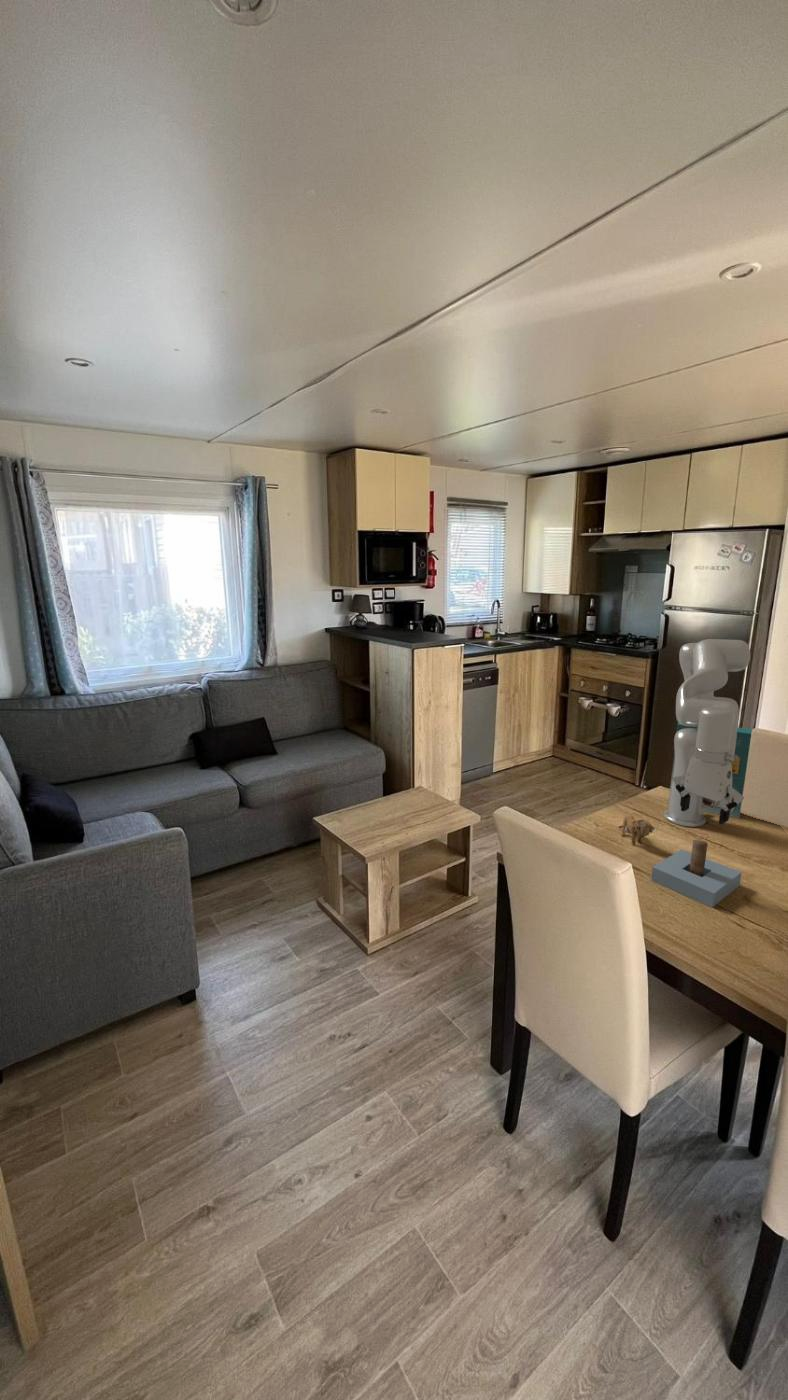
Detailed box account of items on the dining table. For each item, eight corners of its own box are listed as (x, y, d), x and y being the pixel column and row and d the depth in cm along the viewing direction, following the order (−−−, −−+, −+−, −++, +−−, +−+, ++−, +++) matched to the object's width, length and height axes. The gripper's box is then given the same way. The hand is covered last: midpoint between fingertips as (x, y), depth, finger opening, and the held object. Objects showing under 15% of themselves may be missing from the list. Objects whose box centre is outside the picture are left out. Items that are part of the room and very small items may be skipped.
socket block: (680, 861, 163) (681, 849, 162) (739, 885, 151) (741, 872, 150) (651, 880, 154) (652, 867, 153) (712, 907, 142) (714, 893, 141)
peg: (691, 878, 155) (696, 838, 152) (704, 883, 152) (709, 843, 149) (685, 882, 153) (690, 842, 150) (698, 888, 150) (703, 847, 147)
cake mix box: (740, 812, 195) (752, 729, 188) (739, 818, 190) (751, 733, 183) (670, 798, 207) (679, 720, 200) (668, 804, 202) (677, 724, 195)
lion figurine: (654, 849, 171) (657, 822, 169) (639, 851, 170) (642, 824, 167) (625, 828, 185) (627, 802, 183) (610, 829, 184) (613, 804, 181)
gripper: (754, 760, 140) (745, 823, 144) (684, 743, 153) (677, 801, 157) (741, 768, 135) (732, 832, 139) (670, 749, 149) (663, 809, 153)
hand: (703, 816), depth 148 cm, fingers open, 9 cm apart
